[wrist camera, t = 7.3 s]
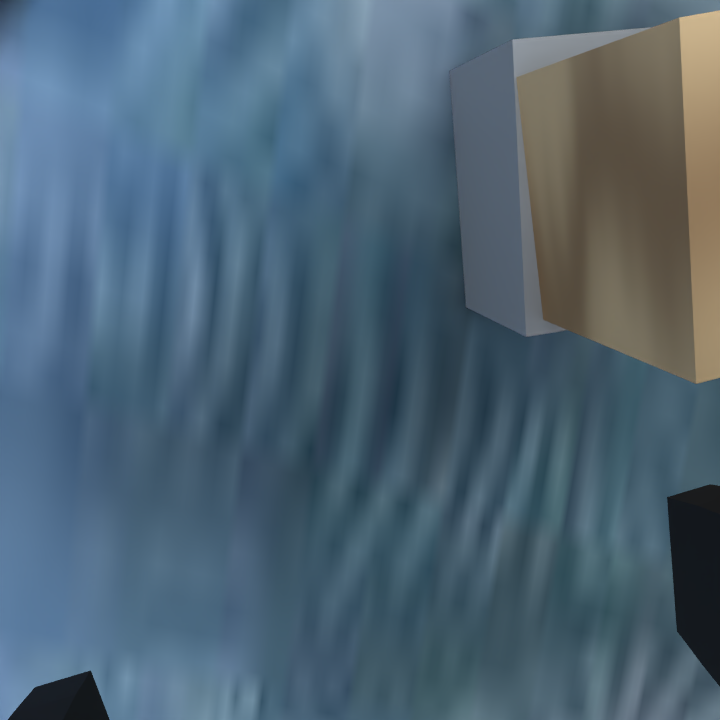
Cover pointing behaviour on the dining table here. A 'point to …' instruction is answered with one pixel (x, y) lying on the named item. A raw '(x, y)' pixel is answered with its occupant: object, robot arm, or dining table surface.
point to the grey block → (503, 177)
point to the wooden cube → (631, 193)
